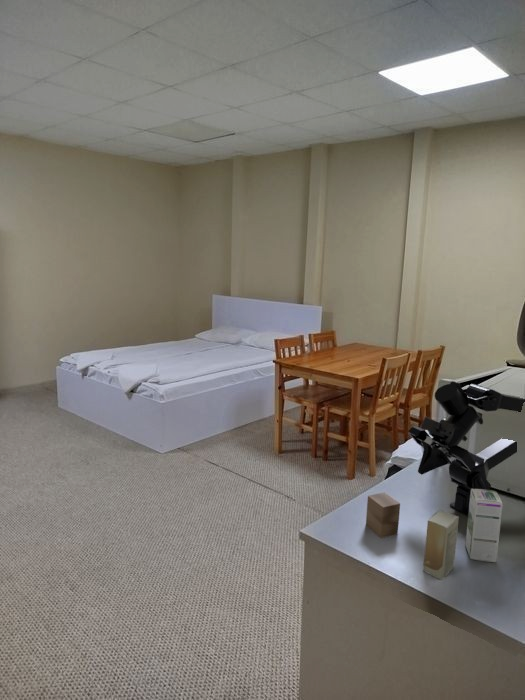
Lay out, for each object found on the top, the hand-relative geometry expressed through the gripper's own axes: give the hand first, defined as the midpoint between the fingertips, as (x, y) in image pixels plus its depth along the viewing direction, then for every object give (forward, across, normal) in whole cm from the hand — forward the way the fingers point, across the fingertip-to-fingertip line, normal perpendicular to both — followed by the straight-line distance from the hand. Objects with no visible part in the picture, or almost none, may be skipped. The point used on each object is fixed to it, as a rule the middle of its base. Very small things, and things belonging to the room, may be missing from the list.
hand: (419, 473), depth 122 cm
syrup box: (+6, +16, +12) cm, 22 cm away
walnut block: (+17, 0, +2) cm, 17 cm away
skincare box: (+16, +18, +3) cm, 24 cm away
